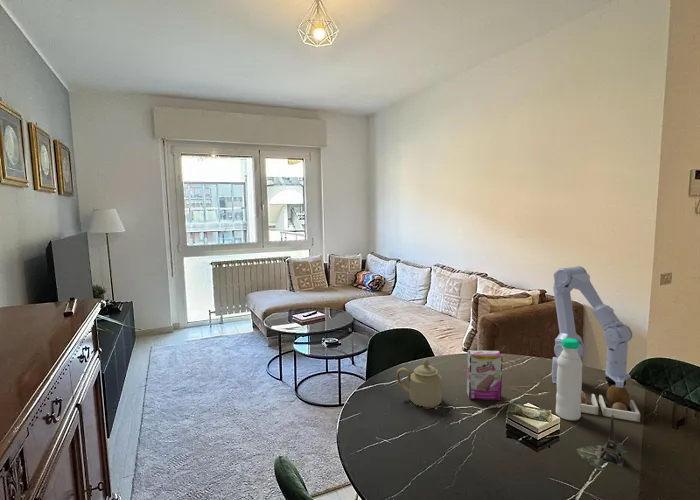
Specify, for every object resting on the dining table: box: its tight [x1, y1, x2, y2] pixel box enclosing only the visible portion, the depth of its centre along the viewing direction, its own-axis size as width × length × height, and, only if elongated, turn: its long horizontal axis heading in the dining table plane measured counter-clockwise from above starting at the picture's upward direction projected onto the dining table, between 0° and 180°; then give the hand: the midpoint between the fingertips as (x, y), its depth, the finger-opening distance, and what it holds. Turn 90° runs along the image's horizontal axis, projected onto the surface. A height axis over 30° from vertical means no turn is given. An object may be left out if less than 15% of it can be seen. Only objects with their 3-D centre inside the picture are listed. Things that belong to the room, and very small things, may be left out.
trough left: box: [580, 393, 599, 416], centre depth 134 cm, size 10×10×2 cm
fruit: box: [606, 385, 630, 407], centre depth 131 cm, size 6×6×8 cm
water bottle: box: [555, 338, 584, 421], centre depth 127 cm, size 7×7×25 cm
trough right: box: [598, 394, 641, 423], centre depth 129 cm, size 10×10×2 cm
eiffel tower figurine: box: [576, 415, 630, 471], centre depth 106 cm, size 15×10×13 cm
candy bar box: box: [466, 349, 503, 401], centre depth 141 cm, size 11×5×16 cm, turn 84°
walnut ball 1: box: [581, 396, 588, 405], centre depth 133 cm, size 4×4×4 cm
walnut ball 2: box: [611, 402, 628, 411], centre depth 127 cm, size 4×4×4 cm
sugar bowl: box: [396, 358, 443, 408], centre depth 139 cm, size 15×11×15 cm
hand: (614, 399), depth 136 cm, fingers closed
